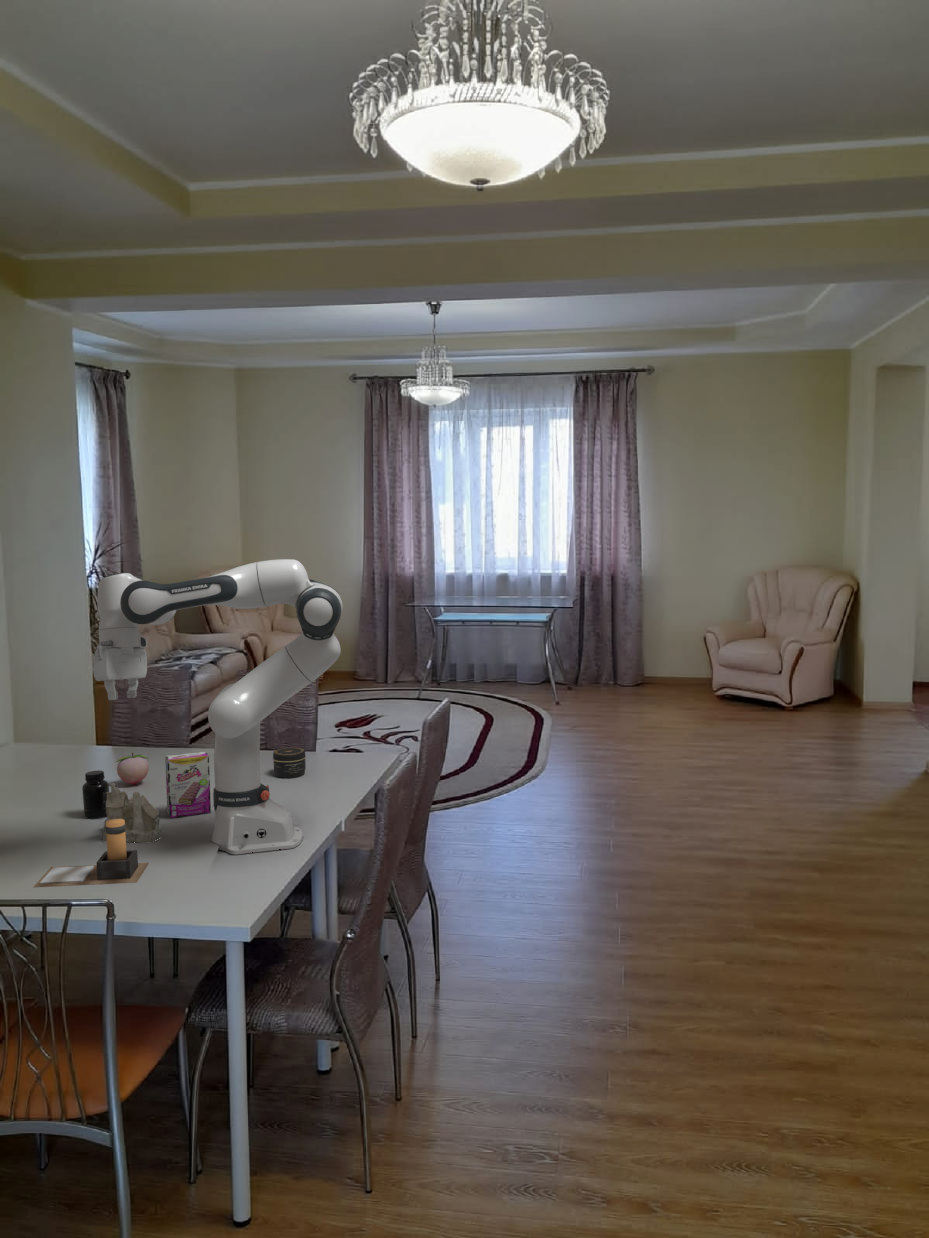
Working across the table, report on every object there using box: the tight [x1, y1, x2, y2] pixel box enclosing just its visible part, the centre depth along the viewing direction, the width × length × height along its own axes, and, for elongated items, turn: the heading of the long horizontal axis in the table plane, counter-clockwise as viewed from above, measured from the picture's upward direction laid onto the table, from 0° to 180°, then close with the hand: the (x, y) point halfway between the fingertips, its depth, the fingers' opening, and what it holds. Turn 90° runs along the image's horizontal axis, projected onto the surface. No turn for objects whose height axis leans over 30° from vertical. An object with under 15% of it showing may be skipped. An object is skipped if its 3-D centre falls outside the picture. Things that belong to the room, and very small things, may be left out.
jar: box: [272, 747, 307, 780], centre depth 304 cm, size 10×10×8 cm
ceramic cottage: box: [102, 782, 164, 844], centre depth 251 cm, size 16×16×15 cm
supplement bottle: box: [81, 770, 110, 820], centre depth 266 cm, size 7×7×12 cm
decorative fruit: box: [116, 752, 150, 786], centre depth 295 cm, size 9×8×10 cm
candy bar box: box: [164, 751, 212, 819], centre depth 266 cm, size 11×5×16 cm, turn 115°
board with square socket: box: [33, 849, 150, 888], centre depth 219 cm, size 22×12×6 cm, turn 95°
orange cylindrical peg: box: [106, 819, 127, 861], centre depth 219 cm, size 4×4×12 cm
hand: (122, 698), depth 233 cm, fingers open, 8 cm apart
